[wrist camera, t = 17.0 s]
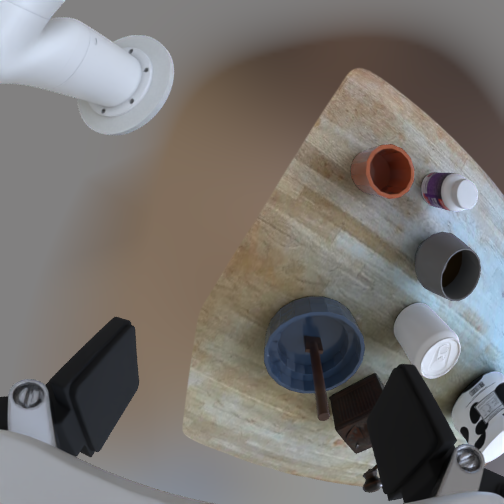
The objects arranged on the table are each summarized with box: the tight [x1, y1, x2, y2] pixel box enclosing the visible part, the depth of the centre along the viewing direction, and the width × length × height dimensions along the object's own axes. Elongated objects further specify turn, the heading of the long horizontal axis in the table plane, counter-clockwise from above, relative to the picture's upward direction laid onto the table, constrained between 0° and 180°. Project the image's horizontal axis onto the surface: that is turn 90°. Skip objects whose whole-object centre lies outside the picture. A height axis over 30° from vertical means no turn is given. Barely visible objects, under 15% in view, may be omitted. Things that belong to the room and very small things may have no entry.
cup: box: [415, 232, 481, 301], centre depth 36 cm, size 10×9×10 cm
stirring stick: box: [304, 336, 330, 421], centre depth 37 cm, size 3×1×18 cm, turn 81°
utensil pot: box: [351, 144, 414, 199], centre depth 35 cm, size 7×7×8 cm
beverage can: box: [394, 303, 461, 379], centre depth 38 cm, size 8×8×12 cm
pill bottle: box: [421, 173, 478, 212], centre depth 33 cm, size 5×5×10 cm
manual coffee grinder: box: [329, 373, 384, 493], centre depth 41 cm, size 16×11×18 cm
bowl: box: [264, 297, 365, 393], centre depth 43 cm, size 15×15×6 cm
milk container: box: [452, 371, 504, 463], centre depth 38 cm, size 17×17×18 cm
